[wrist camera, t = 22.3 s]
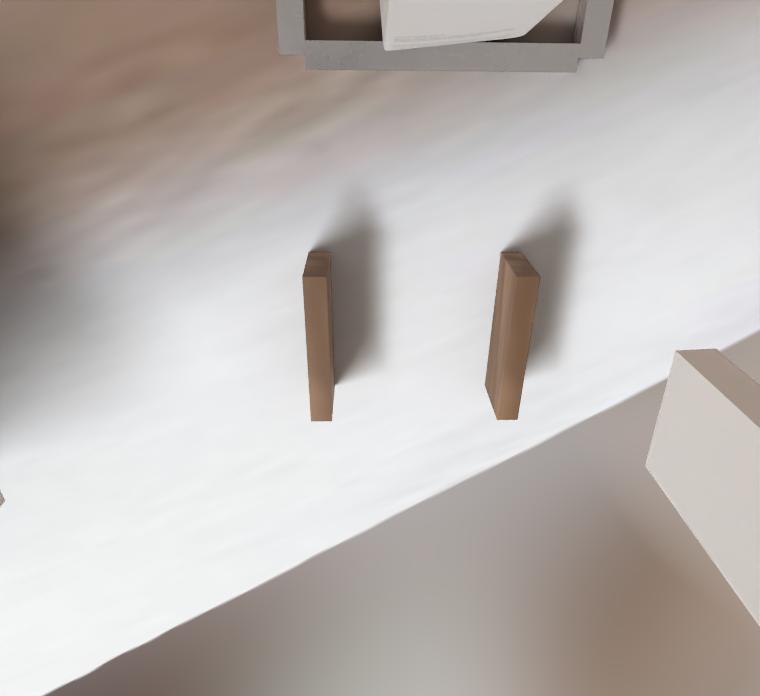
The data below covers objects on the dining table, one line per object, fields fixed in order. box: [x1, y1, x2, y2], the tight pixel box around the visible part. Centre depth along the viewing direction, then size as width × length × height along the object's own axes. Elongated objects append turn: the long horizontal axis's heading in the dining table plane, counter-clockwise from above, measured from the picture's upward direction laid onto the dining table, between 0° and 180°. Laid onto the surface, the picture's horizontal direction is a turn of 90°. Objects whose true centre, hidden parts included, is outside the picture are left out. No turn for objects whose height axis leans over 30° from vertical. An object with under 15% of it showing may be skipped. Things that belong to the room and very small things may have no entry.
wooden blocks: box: [303, 252, 540, 421], centre depth 43 cm, size 16×12×5 cm
